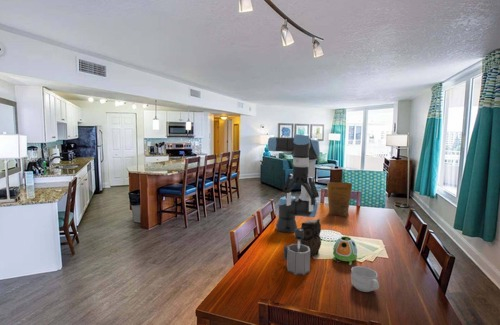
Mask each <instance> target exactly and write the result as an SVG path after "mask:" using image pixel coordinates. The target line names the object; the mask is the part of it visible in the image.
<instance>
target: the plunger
mask: <svg viewBox="0 0 500 325" xmlns="http://www.w3.org/2000/svg"><path fill="white" fill-rule="evenodd" d="M303 238H304V229H301V227H300V228H299V227H297V228H296V229H295V232H294V239H295V240H296V239H297V244H298V250H297V252H300V239H303Z"/></svg>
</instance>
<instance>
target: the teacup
mask: <svg viewBox="0 0 500 325" xmlns="http://www.w3.org/2000/svg"><path fill="white" fill-rule="evenodd" d="M350 269H351V272H350V281H351V285H353V287H354V288H355V289H356V290H357V291H360V292H362V293H369V292H373V291H377V290H379V287H380V282H379V281H378V275H379V274H378V273H377V271H376V270H374V269H372V268H369V267H367V266H362V265H361V266H360V265H359V266H358V265H357V266H352V267H351V268H350Z"/></svg>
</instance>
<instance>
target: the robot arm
mask: <svg viewBox="0 0 500 325" xmlns="http://www.w3.org/2000/svg"><path fill="white" fill-rule="evenodd" d="M267 149H268V151H269V152H281V153H283V154H287V155H291V156H292V158H293V159H292V161H293V162H292V165H293V166H292V173H288V174H287V178H286V180H285V183H284V186H282V191H283V192H284V193H285V195H284V196H282V197H280V198H279V201H278V218H277V221H276V224H275V230H276V231H278V232H280V233H285V234H286V233H287V234H290V233H295V229H296V228H298V224H297V221H296V217H307V218H315V217H316V216H317V211H318V207H319V206H318V205H319V200H317V198H319V197H320V195H319V194H320V193H319V192H318V189H317V187H316V183H315V172H316V169H315V168H316V161H317V160H318V157H320V156H321V152H320V151H321V150H320V141H319V140H318V138H312V137H310V134H307V133H306V134H305V133H298V134H294V136H293V137H285V136H284V137H281V136H277V137H276V136H273V137H272V136H270V137H269V138H268V141H267ZM292 180H293V181H292ZM296 185H300V186H301V187H300V190H301V191H300V195H299V196H298V198H297V197H296V196H293V195H292V190H293V189H294V188H295V187H296Z"/></svg>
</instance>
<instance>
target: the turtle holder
mask: <svg viewBox="0 0 500 325" xmlns="http://www.w3.org/2000/svg"><path fill="white" fill-rule="evenodd" d="M332 250H333V252H332V254H333V256H334V257H333V261H337V260H339V261H342V262H348V265H349V266H352V264H353V261H356V260H357V259H358V247H357V244H356V242H355V241H354V239H353V238H352V237H351V236H349V235H348V236H347V235H343V236H340V237H339V238H338V239H337V240H336V241H335V242H334V245H333V249H332Z"/></svg>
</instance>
